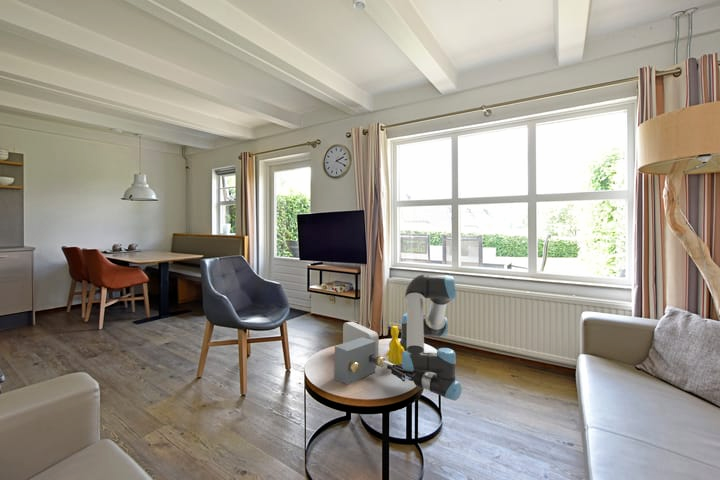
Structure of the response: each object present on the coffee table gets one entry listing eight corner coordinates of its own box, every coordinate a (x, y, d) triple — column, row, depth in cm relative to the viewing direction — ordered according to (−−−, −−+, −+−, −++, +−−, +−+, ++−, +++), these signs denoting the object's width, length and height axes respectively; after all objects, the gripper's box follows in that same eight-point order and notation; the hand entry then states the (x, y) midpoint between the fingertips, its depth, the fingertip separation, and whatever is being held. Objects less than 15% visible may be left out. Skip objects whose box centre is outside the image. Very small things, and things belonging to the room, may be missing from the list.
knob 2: (371, 360, 167) (371, 351, 167) (385, 365, 160) (385, 356, 160) (365, 362, 164) (366, 354, 163) (379, 368, 157) (379, 359, 157)
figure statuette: (414, 369, 171) (415, 327, 170) (405, 373, 165) (406, 330, 165) (388, 359, 183) (388, 320, 183) (379, 363, 178) (379, 323, 177)
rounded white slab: (381, 365, 175) (382, 332, 174) (370, 368, 170) (370, 334, 170) (353, 349, 198) (353, 320, 198) (342, 351, 194) (343, 321, 194)
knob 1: (346, 365, 159) (346, 356, 159) (359, 371, 153) (360, 362, 153) (340, 368, 156) (340, 359, 156) (353, 374, 150) (353, 364, 150)
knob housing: (362, 366, 172) (362, 337, 172) (375, 372, 166) (375, 341, 166) (334, 378, 158) (334, 346, 158) (346, 384, 152) (347, 351, 151)
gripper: (417, 393, 137) (374, 375, 153) (433, 383, 146) (391, 367, 163) (417, 375, 137) (375, 359, 153) (433, 366, 146) (392, 352, 162)
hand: (383, 363), depth 158 cm, fingers closed
